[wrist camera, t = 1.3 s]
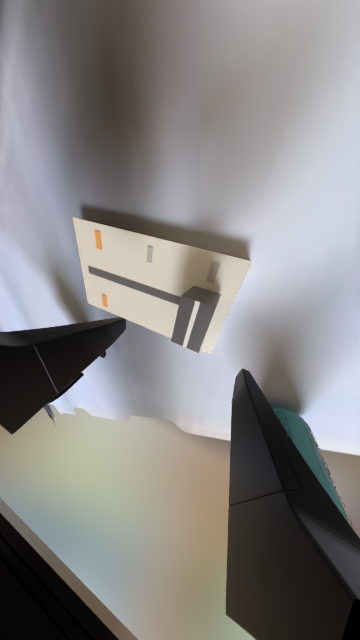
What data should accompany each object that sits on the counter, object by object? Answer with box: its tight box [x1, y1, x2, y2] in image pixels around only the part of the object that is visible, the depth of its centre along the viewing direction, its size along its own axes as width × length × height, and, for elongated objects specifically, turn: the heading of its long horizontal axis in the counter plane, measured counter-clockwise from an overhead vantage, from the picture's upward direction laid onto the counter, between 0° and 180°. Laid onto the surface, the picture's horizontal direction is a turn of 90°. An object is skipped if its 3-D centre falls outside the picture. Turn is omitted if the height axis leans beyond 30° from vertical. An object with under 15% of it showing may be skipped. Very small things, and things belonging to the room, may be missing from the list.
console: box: [73, 218, 252, 354], centre depth 18 cm, size 12×22×2 cm, turn 77°
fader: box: [171, 286, 221, 353], centre depth 13 cm, size 5×3×4 cm, turn 167°
